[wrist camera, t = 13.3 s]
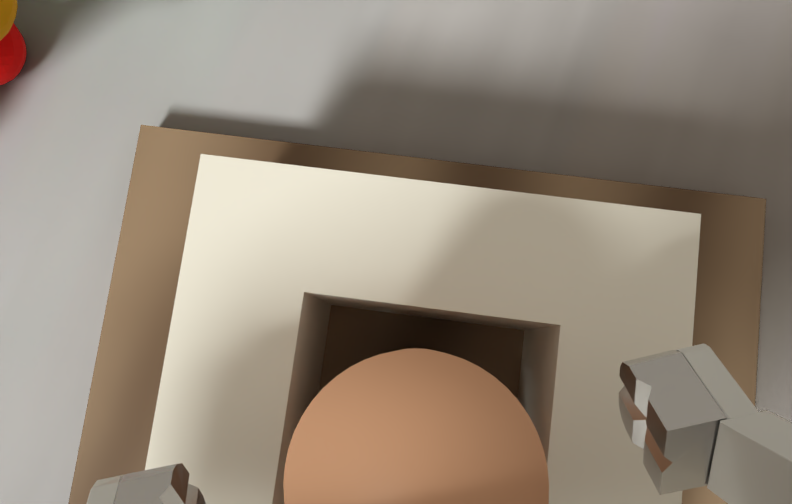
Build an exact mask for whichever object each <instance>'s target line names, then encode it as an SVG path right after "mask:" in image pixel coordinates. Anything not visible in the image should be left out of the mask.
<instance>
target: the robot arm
mask: <svg viewBox="0 0 792 504" xmlns="http://www.w3.org/2000/svg"><path fill="white" fill-rule="evenodd" d="M619 376H620V378H621V380H622V382H623V384H624V387H623V388H622V389H621V390H620V392H619V409H620V413H621V418H622V421H623V424H624V426H625V429H626V431H627V433H628V435H629V437H630V439H631V441H632V443H634V444H636V445H637V446H639V447H641V448H642V449H644V454H643V464H644V466H645V468H646V470H647V472H648V474H649V476H650V478H651V479H652V481H653V483H654V485H655V487H656V489H657V491H658V493H659V495H662V494H667V493H672V492H677V491H682V490H687V489H692V488H697V487H702V486H707V485H708V486H707V488H708V489H709V490H710V491H712V492H713V493H714V494H716V495H717V496H718V497H720V498H721V499H722V500H724V501H725V502H727V503H728V504H792V423H791V422H789V421H787V420H785V419H783V418H781V417H779V416H778V415H776V414H774V413H772V412H770V411H768V410H767V411H761V412H759V411H758V410H757V409H756V407H755V406H754V405H753V403H752V402H751V401H750V399H749V398H748V397H747V395H746V394H745V393H744V391H743V390H742V389H741V387H740V386H739V385H738V383H737V382H736V381H735V379H734V378H733V377H732V375H731V374H730V373H729V372H728V370H727V369H726V368H725V366H724V365H723V364H722V362H721V361H720V360H719V358H718V357H717V356H716V354H715V353H714V352H713V350H712V349H711V348H710V347H709V346H708V345H706V344H699V345H695V346H690V347H686V348H681V349H677V350H670V351H666V352H662V353H658V354H654V355H649V356H645V357H641V358H637V359H633V360H629V361H624V362H622V364H621V366H620V374H619ZM189 474H190V473H189V472H188V471H187V469H186V468H185V466H184V465H183V464H182V463H180V464H174V465H169V466H164V467H159V468H154V469H149V470H144V471H139V472H134V473H129V474H124V475H119V476H115V477H110V478H105V479H101V480H97V481H96V482H95V484H94V485H93V487H92V488H91V490H90V493H89V497H88V500H87V504H206V503H205V500H204V497H203V495H202V493H201V491H200V490H199V488H198V487H195V486H193V485H191V484H188V481H189Z"/></svg>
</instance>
